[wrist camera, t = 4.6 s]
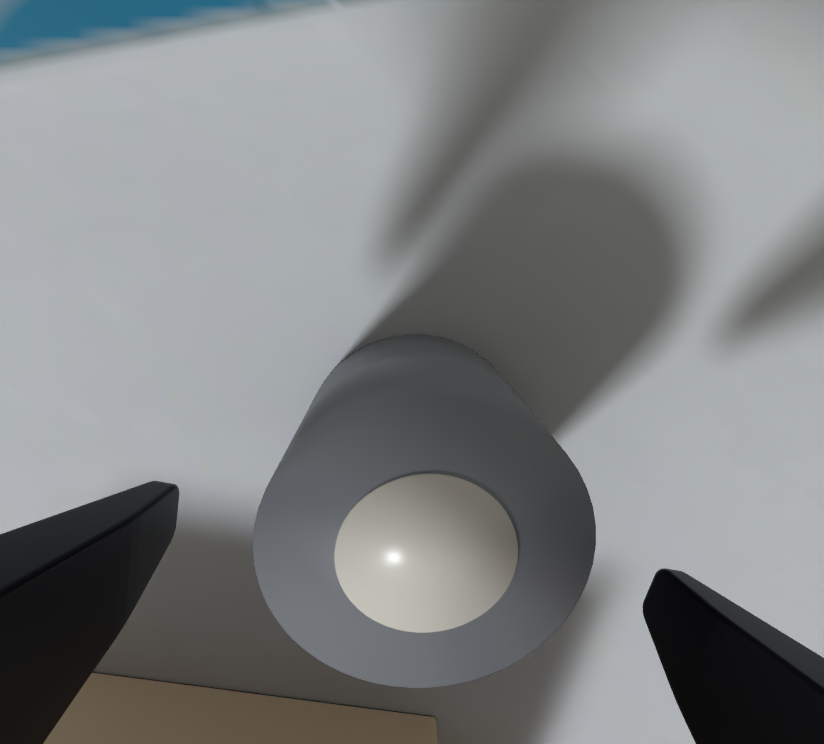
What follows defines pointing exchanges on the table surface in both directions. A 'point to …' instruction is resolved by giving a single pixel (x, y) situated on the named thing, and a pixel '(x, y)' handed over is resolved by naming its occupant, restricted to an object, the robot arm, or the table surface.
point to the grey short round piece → (422, 520)
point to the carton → (222, 718)
